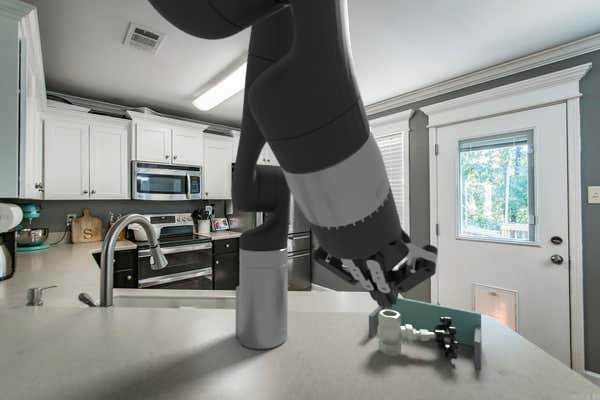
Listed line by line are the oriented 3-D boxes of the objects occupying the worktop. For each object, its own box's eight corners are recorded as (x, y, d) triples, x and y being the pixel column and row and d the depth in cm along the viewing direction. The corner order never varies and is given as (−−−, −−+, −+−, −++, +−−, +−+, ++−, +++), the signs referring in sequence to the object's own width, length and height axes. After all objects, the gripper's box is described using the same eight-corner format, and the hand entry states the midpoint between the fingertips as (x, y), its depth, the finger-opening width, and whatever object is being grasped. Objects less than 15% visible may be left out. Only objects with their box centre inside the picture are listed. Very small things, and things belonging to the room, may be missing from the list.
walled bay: (368, 336, 52) (368, 305, 52) (382, 321, 59) (381, 294, 59) (480, 368, 42) (480, 329, 42) (481, 346, 48) (481, 312, 48)
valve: (379, 360, 44) (459, 368, 42) (379, 320, 44) (458, 326, 42) (375, 340, 51) (444, 347, 48) (375, 305, 51) (444, 310, 49)
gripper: (434, 154, 21) (452, 280, 30) (294, 169, 28) (344, 266, 38) (424, 227, 16) (448, 348, 26) (260, 222, 23) (327, 317, 33)
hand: (386, 299), depth 32 cm, fingers closed
